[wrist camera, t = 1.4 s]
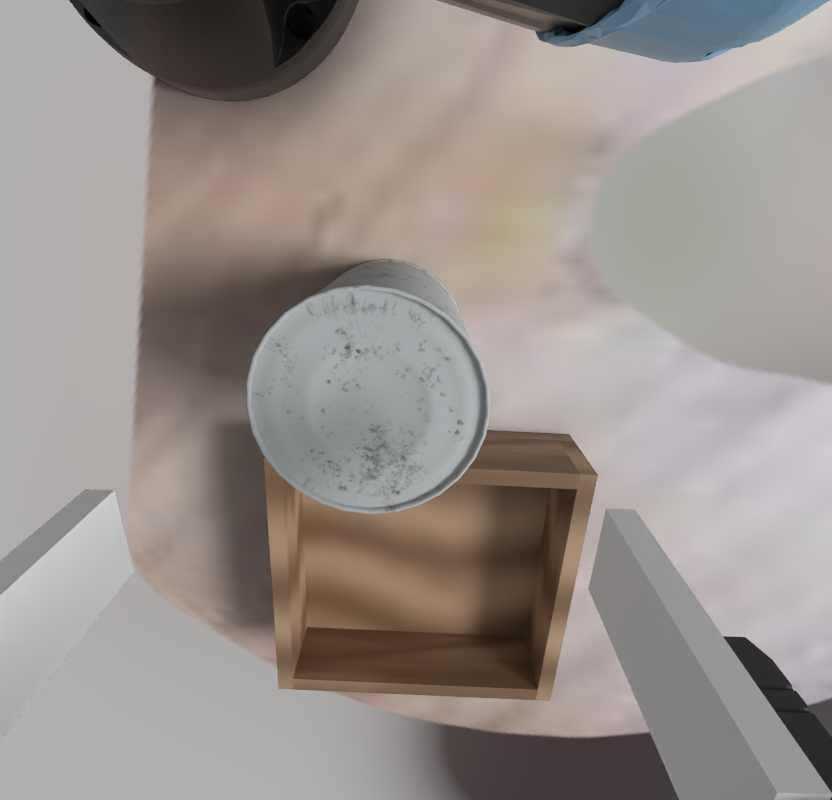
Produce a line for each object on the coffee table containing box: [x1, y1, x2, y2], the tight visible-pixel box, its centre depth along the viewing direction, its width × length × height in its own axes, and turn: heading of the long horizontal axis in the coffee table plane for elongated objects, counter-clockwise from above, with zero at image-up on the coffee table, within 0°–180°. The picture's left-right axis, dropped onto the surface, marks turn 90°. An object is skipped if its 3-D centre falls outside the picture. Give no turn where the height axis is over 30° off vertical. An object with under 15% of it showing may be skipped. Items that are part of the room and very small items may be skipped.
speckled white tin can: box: [246, 259, 491, 514], centre depth 24 cm, size 10×10×12 cm
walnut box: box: [263, 430, 598, 701], centre depth 33 cm, size 18×19×6 cm
